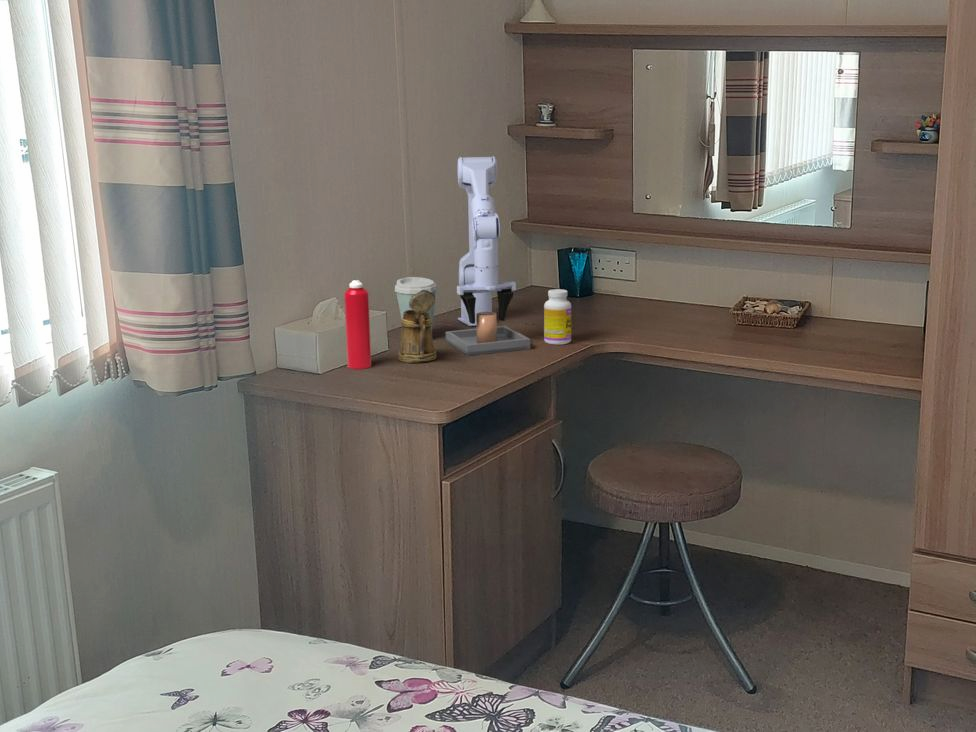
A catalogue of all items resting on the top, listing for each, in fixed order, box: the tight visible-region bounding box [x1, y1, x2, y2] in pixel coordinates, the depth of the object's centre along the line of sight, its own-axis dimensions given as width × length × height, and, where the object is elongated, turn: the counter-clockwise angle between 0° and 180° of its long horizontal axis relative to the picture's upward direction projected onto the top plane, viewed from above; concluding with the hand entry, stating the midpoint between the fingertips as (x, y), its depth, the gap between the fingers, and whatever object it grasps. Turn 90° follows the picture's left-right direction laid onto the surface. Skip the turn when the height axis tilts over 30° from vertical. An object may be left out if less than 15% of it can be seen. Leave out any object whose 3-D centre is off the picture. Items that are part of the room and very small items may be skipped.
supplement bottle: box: [543, 288, 572, 346], centre depth 288 cm, size 7×7×13 cm
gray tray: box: [445, 325, 531, 357], centre depth 287 cm, size 16×16×2 cm
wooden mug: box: [397, 290, 437, 364], centre depth 271 cm, size 9×14×18 cm, turn 17°
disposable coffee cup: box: [394, 276, 438, 333], centre depth 293 cm, size 11×11×15 cm
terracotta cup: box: [475, 311, 498, 343], centre depth 287 cm, size 5×5×7 cm
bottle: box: [343, 279, 372, 370], centre depth 267 cm, size 5×5×20 cm
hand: (487, 321), depth 286 cm, fingers open, 7 cm apart
